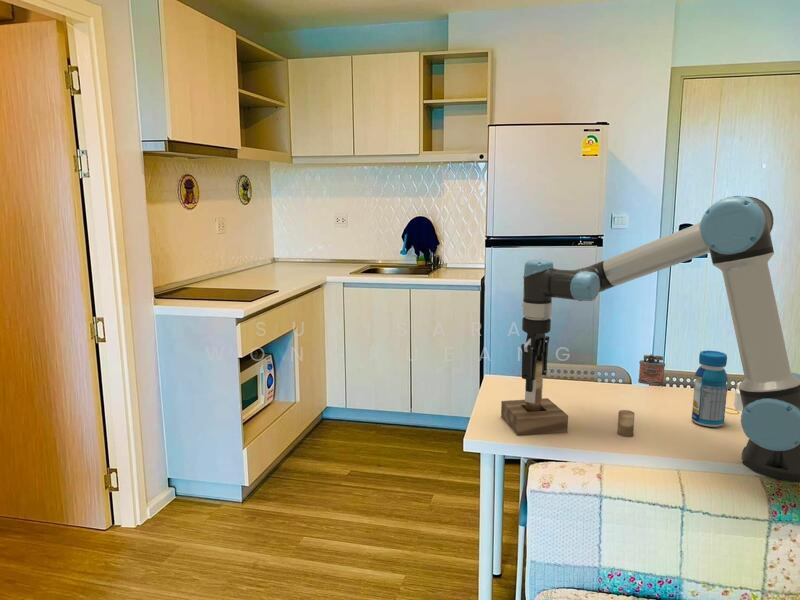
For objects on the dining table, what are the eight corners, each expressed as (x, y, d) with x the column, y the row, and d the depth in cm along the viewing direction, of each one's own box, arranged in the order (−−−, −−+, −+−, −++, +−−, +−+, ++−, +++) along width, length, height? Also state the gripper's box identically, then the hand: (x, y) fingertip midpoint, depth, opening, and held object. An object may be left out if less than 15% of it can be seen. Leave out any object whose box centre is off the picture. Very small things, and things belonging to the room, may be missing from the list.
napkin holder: (735, 396, 189) (737, 378, 188) (771, 406, 179) (773, 388, 178) (705, 403, 182) (706, 386, 181) (741, 415, 172) (742, 396, 171)
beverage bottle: (711, 430, 160) (717, 358, 157) (684, 419, 168) (689, 351, 164) (731, 424, 164) (737, 354, 161) (703, 414, 172) (709, 348, 168)
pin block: (567, 433, 159) (568, 415, 158) (517, 436, 157) (518, 418, 156) (547, 414, 173) (547, 398, 172) (501, 417, 171) (501, 400, 170)
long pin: (542, 412, 162) (544, 363, 160) (528, 413, 162) (530, 364, 159) (537, 407, 166) (539, 359, 164) (523, 408, 166) (525, 360, 163)
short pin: (636, 436, 157) (637, 414, 156) (622, 437, 156) (623, 415, 155) (628, 430, 160) (629, 409, 159) (614, 431, 160) (615, 410, 159)
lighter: (637, 383, 201) (639, 354, 199) (638, 380, 204) (640, 352, 202) (663, 386, 197) (665, 357, 196) (664, 383, 200) (666, 355, 199)
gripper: (536, 310, 168) (533, 389, 173) (509, 320, 155) (507, 405, 159) (561, 313, 164) (558, 394, 168) (536, 324, 151) (533, 411, 155)
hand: (533, 399), depth 164 cm, fingers closed on long pin, 4 cm apart
